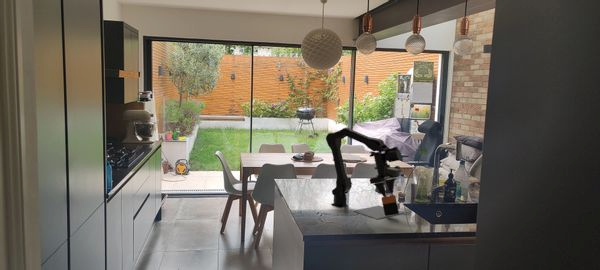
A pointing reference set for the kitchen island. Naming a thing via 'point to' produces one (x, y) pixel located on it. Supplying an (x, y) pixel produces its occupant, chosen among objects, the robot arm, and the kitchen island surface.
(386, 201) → the battery
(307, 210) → the kitchen island surface
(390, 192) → the brown a-shaped stand
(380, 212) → the mat
